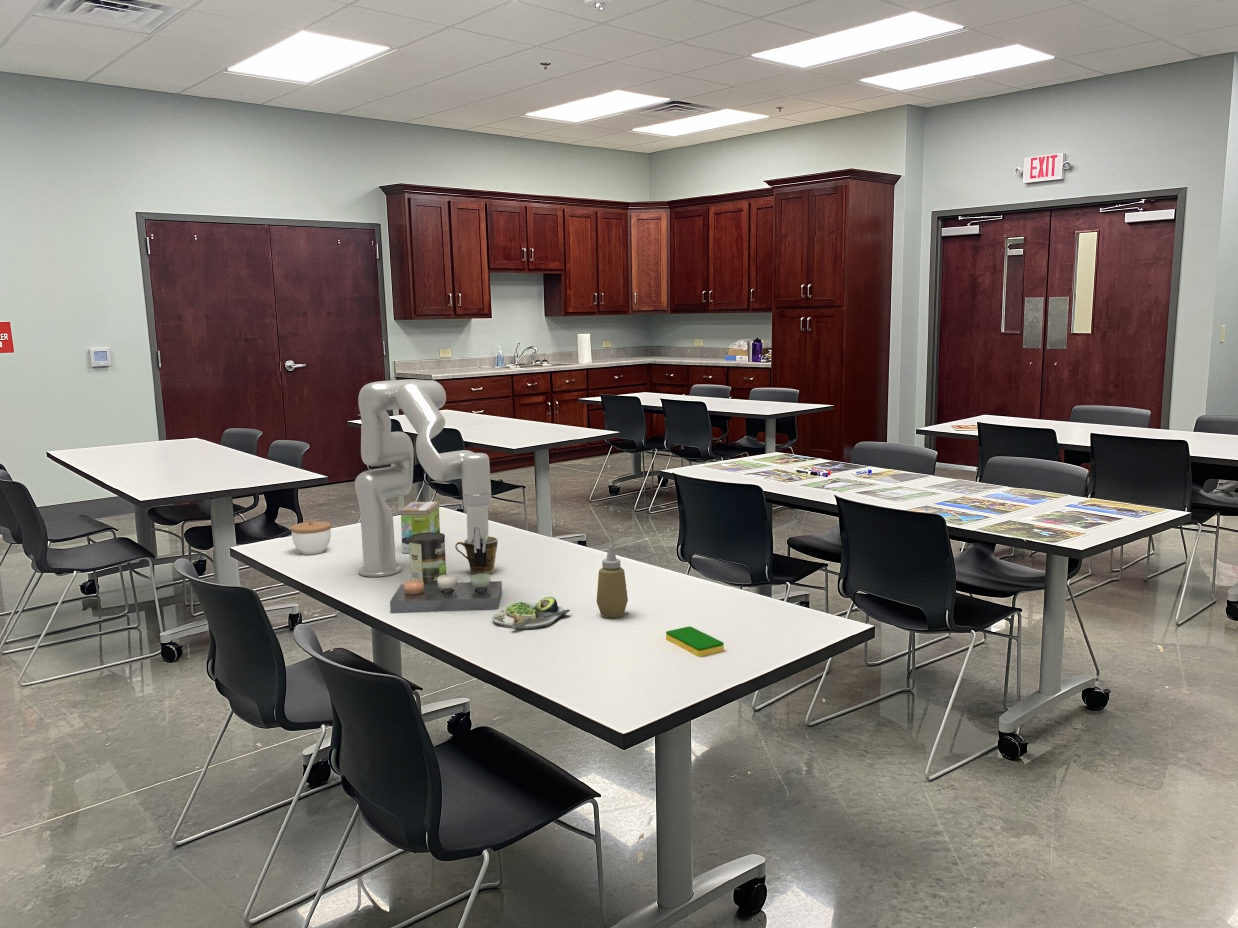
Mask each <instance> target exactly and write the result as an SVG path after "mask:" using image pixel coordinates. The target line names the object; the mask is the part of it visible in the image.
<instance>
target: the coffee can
mask: <svg viewBox="0 0 1238 928" xmlns="http://www.w3.org/2000/svg"><path fill="white" fill-rule="evenodd" d="M445 538H446V535H445V533H443V532H442V533H441V532H440V533H437V532H426V533H418V534H414V535H411V536H409V544H410V553H409V558H410V575H411V577H410V578H411V581H413V580H419V581H423V582H424V584H429V583H438V582H437V577H439V576H441V575H447V562H446V561H447V560H446V559H447V558H446V539H445Z"/></svg>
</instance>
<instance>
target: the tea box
mask: <svg viewBox="0 0 1238 928" xmlns="http://www.w3.org/2000/svg"><path fill="white" fill-rule="evenodd" d="M400 520H401V521H400V524H401V526H400V527H401V529H400V531H401V532H400V533H401V551H402V553H403V554H410V544H409V536H411V535H414V534H418V533H426V532H437V533H441V528H440V526H441V525H440V524H441V522H440V502H439V501H411V502H409V503H408V504H407V505H406V506H404V507H403V508H401V510H400Z"/></svg>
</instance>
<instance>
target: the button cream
mask: <svg viewBox="0 0 1238 928" xmlns="http://www.w3.org/2000/svg"><path fill="white" fill-rule="evenodd" d="M437 582H438V587H439V588H443V593H452V588H453V587H456V586H457V583H458V577H457V575H456V574H446V575H441V576H439V577H437Z"/></svg>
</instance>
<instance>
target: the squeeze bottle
mask: <svg viewBox="0 0 1238 928" xmlns="http://www.w3.org/2000/svg"><path fill="white" fill-rule="evenodd" d="M606 553H607V554H606V558H604V559H603V560H602V561H601V562H602V564H601V565H602V567H601V568H600V569H599V570H598V578H597V588H596V589H597V590H596V605H597V607H598V610H599V612H600V615H601V616H602V617H604V618H613V619H614V618H620V617H622V616H624V615H625V611H626V608H627V604H628V601H629V597H628V590H627V589H628V588H627V582H626V575H625V574H626V573H625V569H624V568H623V567H621V560H620V559H619V558H617V556H616V552H615V548H614V546H613V545H609V546H608V549H607V552H606Z"/></svg>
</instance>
